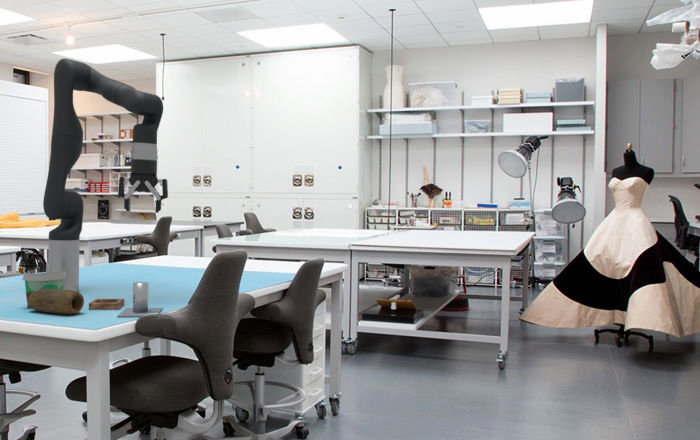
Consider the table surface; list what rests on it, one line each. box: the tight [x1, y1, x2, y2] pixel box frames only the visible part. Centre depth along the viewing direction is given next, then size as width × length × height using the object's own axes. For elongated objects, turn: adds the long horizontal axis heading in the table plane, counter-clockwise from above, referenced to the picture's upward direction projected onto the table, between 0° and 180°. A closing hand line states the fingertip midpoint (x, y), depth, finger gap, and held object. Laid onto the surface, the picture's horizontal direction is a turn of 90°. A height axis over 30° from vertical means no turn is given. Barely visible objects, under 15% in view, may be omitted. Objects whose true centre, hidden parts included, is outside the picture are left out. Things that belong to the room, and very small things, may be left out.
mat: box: [116, 307, 163, 318], centre depth 170 cm, size 10×12×1 cm
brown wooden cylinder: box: [28, 289, 85, 315], centre depth 167 cm, size 15×7×7 cm, turn 75°
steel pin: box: [132, 281, 149, 313], centre depth 170 cm, size 4×4×8 cm
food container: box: [22, 269, 67, 309], centre depth 175 cm, size 12×6×10 cm, turn 148°
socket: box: [88, 298, 125, 311], centre depth 177 cm, size 8×8×2 cm
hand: (142, 212), depth 187 cm, fingers open, 8 cm apart
